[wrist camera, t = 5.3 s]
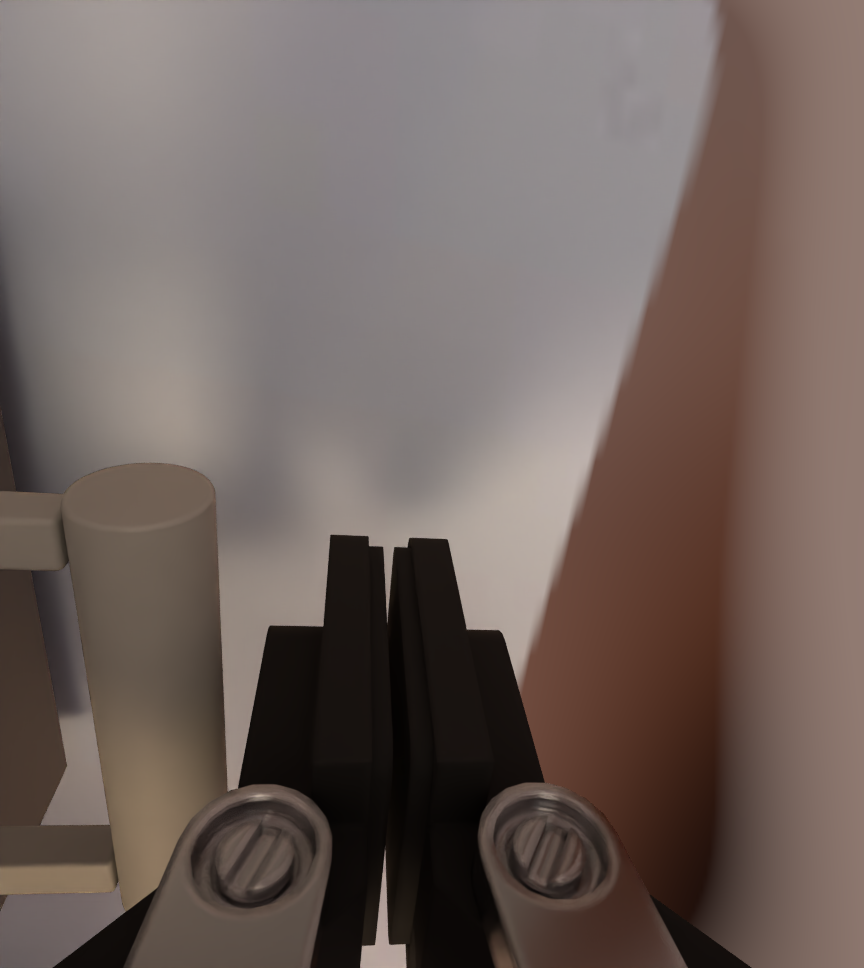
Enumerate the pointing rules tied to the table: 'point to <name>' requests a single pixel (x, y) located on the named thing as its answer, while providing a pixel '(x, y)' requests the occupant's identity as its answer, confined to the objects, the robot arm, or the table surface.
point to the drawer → (111, 673)
